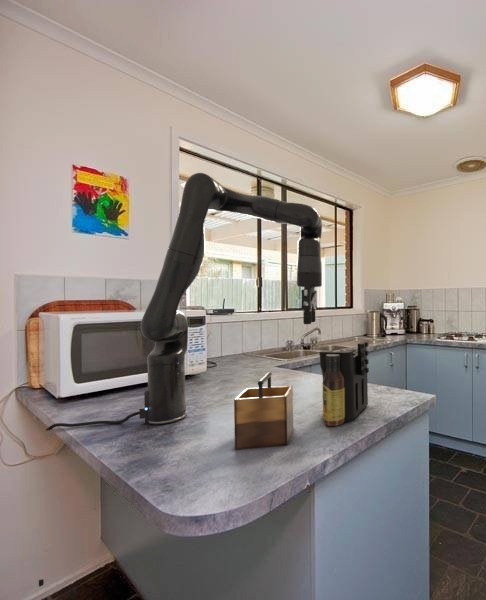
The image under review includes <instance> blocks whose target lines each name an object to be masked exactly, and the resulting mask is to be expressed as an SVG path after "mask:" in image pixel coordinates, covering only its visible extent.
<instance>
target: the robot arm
mask: <svg viewBox="0 0 486 600" xmlns="http://www.w3.org/2000/svg"><path fill="white" fill-rule="evenodd" d="M185 181H186V182H185V184H184V187H183V191H182V196H181V201H180V207H179V212H178V216H177V220H176V223H175V226H174V230H173V233H172V236H171V239H170V242H169V245H168V248H167V250H166V254H165V257H164V260H163V265H162V268H161V270H160V274H159V277H158V280H157V283H156V285H155V289H154V291H153V294H152V296H151V299H150V301H149V303H148V305H147V307H146V309H145V311H144V313H143V316H142V318H141V320H140V321H141V322H140V331H141V334H142V336H143V337H144V339H146V340H148V341H149V342H154V347H153V349H152V350H151V351H150V353H149V354H148V355H147V358H146V359H147V360H146V361H147V362H146V363H147V367H146V368H147V369H146V370H147V371H146V372H147V389H146V390H145V391H144V392H143V394H144V395H143V397H144V399H143V400H144V401H143V402H144V406H143V407H140V408H139V411H134V412H132V413H130V414H128V415H127V416H126V417H124V418H123V419H120V420H95V421H84V422H75V423H66V422H65V423H64V422H57V423H53V424H51V425H49V426H48V427H47V428H45V431H47V432H48V431H51V430H53V429H55V428H57V427H63V428H75V427H84V426H91V425H93V426H94V425H119V424H123V423H126V422H127V421H128V420H130V419H131V418H133V417H135V416H138V415H139V420H141V419H144V424H146V425H155V426H156V425H158V426H159V425H165V424H170V423H174V422H179V421H181V420H183V419H185V418H186V417H187V411H186V408H187V405H186V365H185V363H186V357H185V356H186V354H187V351H188V346H189V345H188V344H189V343H188V341H189V325H188V324H189V323H188V319H187V317H186V315H185V314H184V313H183V312H182V311H180V310H178V309H179V305H180V303H181V300H182V298H183V296H184V295H185V293H186V291H187V290H188V289H189V287H191V285H192V284H193V282H194V281H195V279H196V278H197V276H198V275H199V273H200V270H201V268H202V265H203V262H204V258H205V255H206V254H205V253H206V238H205V222H206V218H207V216H208V212H209V211H213V212H215V211H216V212H227V213H236V214H241V215H245V216H250V217H253V218H257V219H260V220H264V221H269V222H272V223H275V224H276V223H277V224H280V225H287V224H288V225H291V226H297V227H299V229H300V231H299V239H298V240H297V261H296V286H297V287H299V288H303V289H301V291H300V292H301V302H300V303H301V306H300V307H301V310H302V313H303V314H302V315H303V324H304V325H312V323H315V322H316V311H317V309H318V304H317V303H318V300H317V299H318V294H317V293H318V291H317V290H315V288H321V287H322V285H323V279H322V277H323V276H322V275H323V273H322V271H323V270H322V267H323V266H322V254H321V253H322V249H321V241H322V240H321V239H322V231H323V221H322V217H321V215H320V214H319V212H318V210H317V209H316V208H315V207H313V206H311V205H308V204H304V203H299V202H298V203H297V202H289V201H288V202H287V201H285V200H281V199H278V198H273V197H269V196H265V195H252V194H244V193H240V192H237V191H234V190H231V189H229V188H227V187H225V186H223V185H222V184H221V183H220V182H218V181H217V180H215V178H213V177H211V175H209V174H207V173H204V172H196V173H193V174H192V175H190V176H189V177H188V178H187V180H185ZM44 584H45V583H44V579H42V578H41V579H38V587H43V586H44Z"/></svg>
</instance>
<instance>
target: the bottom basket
mask: <svg viewBox="0 0 486 600" xmlns="http://www.w3.org/2000/svg"><path fill="white" fill-rule="evenodd" d="M233 426H234V450H245V449H257V448H267V447H280V446H288V444H289V441H290V439H291V436H292V433H293V431H294V407H293V408H292V410H291V412H290V415H289V417H288V419H287V421H274V422H261V423H248V424H234V425H233Z"/></svg>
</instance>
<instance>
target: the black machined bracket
mask: <svg viewBox="0 0 486 600" xmlns="http://www.w3.org/2000/svg"><path fill="white" fill-rule="evenodd" d="M368 348H369V341H361V342H358V343H357V348H355V347H354V348H353V347H351V348H348V349H347V348H346V349H345V350H344V349H341V350H337V351H333V350H329V349H328V350H320V351H318V352H319V354H318V355H319V367H320V370H321V375H322V380H323V379H324V376H325V373H326V370H327V369H326V368H327V360H326V355H327V354H340V371H341V373H342V375H343V377H344V387H345V418H344V422H343V423H348V422H351V421H353V420H354V419H356V417H358V416H359V415H360V413H362V411H364V409H365V408H366V407H367V406H368V405H369V389H368V388H369V387H368V385H369V384H368V373H369V372H370V368H369V367H368V365H369V362H370V359H369V358H368V356H369V355H370V353H369V350H368Z"/></svg>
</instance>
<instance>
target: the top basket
mask: <svg viewBox="0 0 486 600" xmlns="http://www.w3.org/2000/svg"><path fill="white" fill-rule="evenodd" d="M272 375H273V374H272V372H271V371H267V373H266V374H265V375H264V376H263V377H262V378H261V379H259V380H258V382H257V385H258V387H249V388H248V387H247V388H245V389H244V390H242V391H241V392H240V394H238V395H237V396H236V397H235V398H234V399H233V415H234V416H233V418H234V420H233V421H234V422H233V423H234V425H235V424H248V423H261V422H274V421H287V419H288V417H289V415H290V412H291V410H292V408H293V409H294V389H293V385H283V386H272ZM266 382H267V386H266V387H265V386H264V384H265V383H266Z"/></svg>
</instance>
